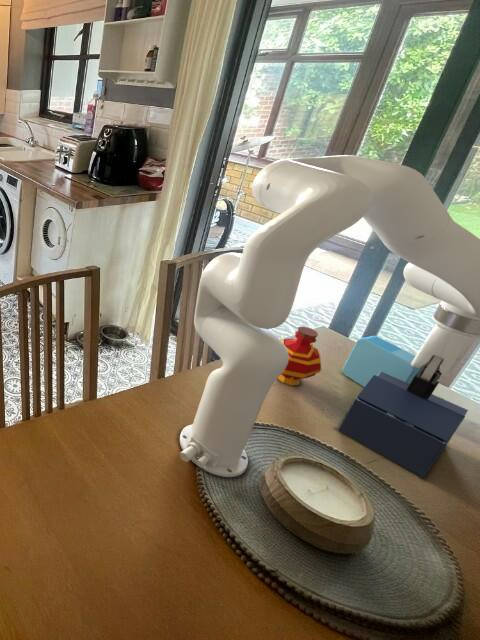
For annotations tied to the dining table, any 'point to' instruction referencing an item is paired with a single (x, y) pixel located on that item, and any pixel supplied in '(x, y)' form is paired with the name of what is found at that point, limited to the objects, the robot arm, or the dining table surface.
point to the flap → (411, 408)
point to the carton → (395, 433)
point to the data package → (379, 361)
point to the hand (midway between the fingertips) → (417, 393)
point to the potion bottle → (301, 357)
